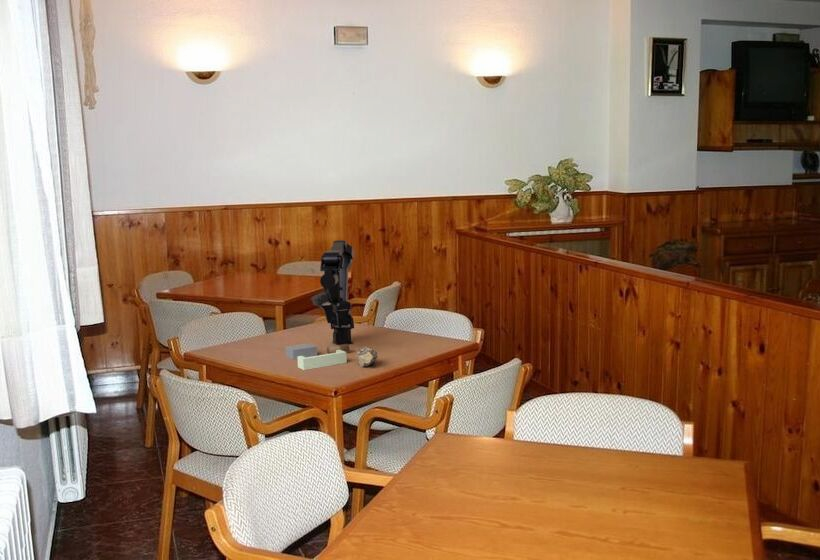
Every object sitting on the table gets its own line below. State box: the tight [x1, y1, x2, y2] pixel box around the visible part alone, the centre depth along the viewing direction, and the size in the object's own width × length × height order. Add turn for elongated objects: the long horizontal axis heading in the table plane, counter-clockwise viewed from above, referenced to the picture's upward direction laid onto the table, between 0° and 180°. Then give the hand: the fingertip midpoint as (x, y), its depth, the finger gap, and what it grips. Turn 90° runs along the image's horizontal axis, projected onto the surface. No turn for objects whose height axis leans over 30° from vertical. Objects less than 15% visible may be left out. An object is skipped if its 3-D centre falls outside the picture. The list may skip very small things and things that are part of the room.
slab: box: [284, 342, 318, 361], centre depth 317 cm, size 10×7×4 cm
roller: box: [326, 344, 350, 354], centre depth 320 cm, size 8×4×4 cm
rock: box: [356, 346, 378, 368], centre depth 302 cm, size 7×11×10 cm
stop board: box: [296, 350, 348, 371], centre depth 303 cm, size 17×5×4 cm, turn 123°
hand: (334, 325), depth 320 cm, fingers open, 9 cm apart
